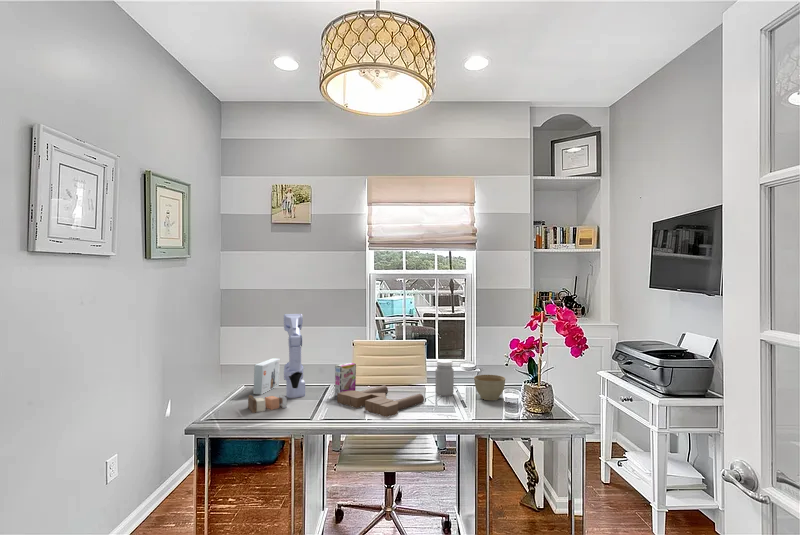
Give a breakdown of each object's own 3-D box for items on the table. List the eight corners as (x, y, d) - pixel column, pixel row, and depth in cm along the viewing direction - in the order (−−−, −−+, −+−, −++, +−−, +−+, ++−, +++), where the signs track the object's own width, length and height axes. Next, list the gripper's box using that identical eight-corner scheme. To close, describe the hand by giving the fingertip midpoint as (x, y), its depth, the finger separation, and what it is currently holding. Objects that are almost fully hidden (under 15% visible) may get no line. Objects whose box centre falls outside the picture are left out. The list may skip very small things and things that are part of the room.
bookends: (386, 418, 212) (427, 405, 233) (387, 406, 212) (428, 394, 233) (337, 403, 235) (378, 392, 257) (337, 392, 235) (378, 382, 257)
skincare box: (262, 395, 249) (262, 365, 249) (252, 394, 250) (253, 364, 250) (280, 385, 270) (280, 358, 270) (271, 385, 271) (271, 357, 271)
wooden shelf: (285, 404, 232) (285, 390, 232) (291, 409, 223) (291, 395, 223) (248, 409, 223) (248, 395, 223) (252, 414, 214) (252, 400, 214)
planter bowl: (495, 393, 254) (495, 373, 254) (511, 401, 238) (511, 380, 238) (468, 395, 249) (468, 375, 249) (483, 403, 233) (483, 382, 234)
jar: (456, 393, 253) (456, 360, 254) (449, 397, 245) (449, 363, 245) (439, 391, 258) (439, 358, 258) (432, 395, 249) (432, 361, 249)
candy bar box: (340, 397, 244) (340, 366, 244) (334, 396, 247) (334, 365, 247) (356, 393, 252) (356, 363, 253) (350, 392, 256) (350, 362, 256)
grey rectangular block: (283, 404, 228) (283, 395, 228) (286, 407, 223) (286, 398, 223) (279, 404, 227) (279, 395, 227) (282, 408, 222) (282, 398, 222)
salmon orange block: (272, 406, 226) (272, 395, 226) (279, 408, 222) (279, 398, 222) (264, 407, 223) (264, 397, 223) (271, 410, 219) (271, 399, 219)
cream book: (262, 407, 223) (262, 397, 223) (265, 411, 218) (265, 400, 218) (253, 409, 221) (253, 398, 221) (256, 412, 216) (256, 401, 216)
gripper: (294, 357, 236) (294, 384, 236) (280, 362, 222) (280, 391, 222) (307, 357, 235) (307, 384, 234) (293, 363, 221) (293, 392, 220)
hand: (295, 387), depth 228 cm, fingers closed
